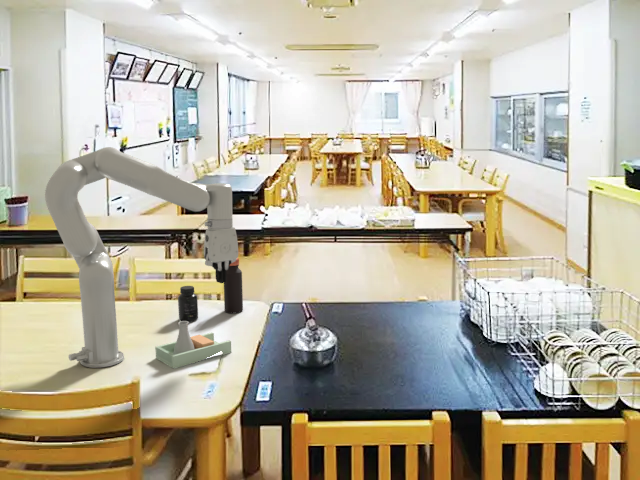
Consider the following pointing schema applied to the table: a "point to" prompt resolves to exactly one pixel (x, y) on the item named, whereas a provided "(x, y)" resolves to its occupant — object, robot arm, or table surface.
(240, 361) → the table surface
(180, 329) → the flask
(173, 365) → the pale green shallow box
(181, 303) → the supplement bottle
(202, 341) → the block
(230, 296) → the vinegar
